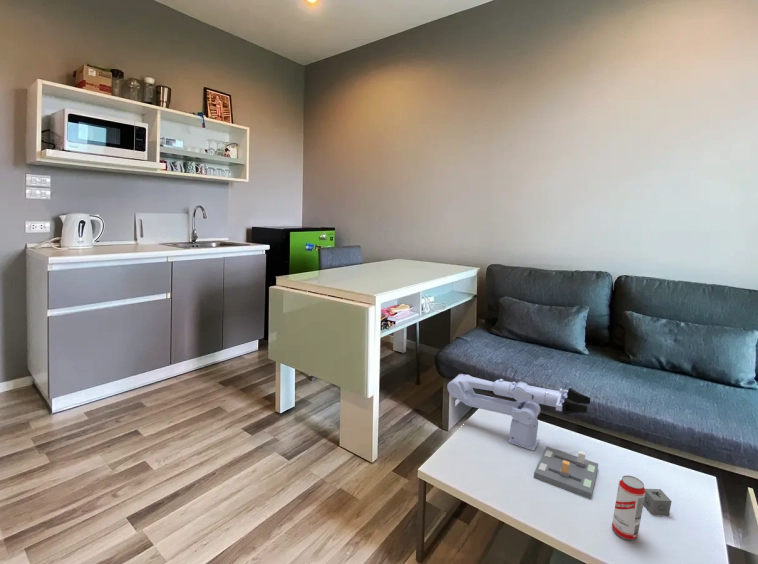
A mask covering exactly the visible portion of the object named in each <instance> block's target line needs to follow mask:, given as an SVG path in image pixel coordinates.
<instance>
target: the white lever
mask: <svg viewBox="0 0 758 564" xmlns="http://www.w3.org/2000/svg"><path fill="white" fill-rule="evenodd" d="M577 454H578V455H577V457H578V458H577V460H576V465H578V466H581V467H584V468H585V464H586V461H585V459H586V452H585V451H583V450H578V453H577Z"/></svg>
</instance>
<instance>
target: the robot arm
mask: <svg viewBox="0 0 758 564" xmlns="http://www.w3.org/2000/svg"><path fill="white" fill-rule="evenodd" d="M446 387H447V391H448V393H449V394H450V396H451V397H452V398H454V399H457V400H459V402H461V403H463V404H464V405H466V406H468V407H473V408H475V409H476V408H477V409H480V410H485V411H489V412H493V413H496V414H497V413H498V414H502V415H507V416H510V417H511V418H512V419H511V422H510V427H509V436H508V437H509V438H508V443H509V444H513V445H515V446H518V447H522V448H523V449H527V450H530V451H533V452H534V451H535V450H536V448H537V446H538V444H539V442H540V440H539V439H537V437H538V429H539V420H538V416H539V415H540V413H541V406H540V405H545V406H550V407H554V408H555V411H558V412H562V415H565V416H567V415H569V414H570V415H571V414H585V413H588V406H587V405H590V404H591V397H590V396H588V395H585V394H582V393H580V392H578V391H576V390H574V389H573V388H572V387H569V388H568V389H563V388H560V389H559V390H556V389H549V388H544V387H539V386H538V387H537V386H534V385H529V384H528V383H527V382H525V381H518V382H516V381H506V380H504V378H503V379H502V378H500V379H496V380H495V381H490V380H487V379H483V378H479V377H474V376H471V375H470V374H463V373H459V374H457V375H456V376H455V378H453V379H452V380H451V381H449V382H448V383H447V385H446ZM474 389H478V390H485V391H490V392H491V391H492V392H493V394H495V395H496V396H501V397H506V398H511V399H514V400H515V401H513V400H507V399H503V398H499V397H493V396H488V395H485V394H479V393H475V391H474Z"/></svg>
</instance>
